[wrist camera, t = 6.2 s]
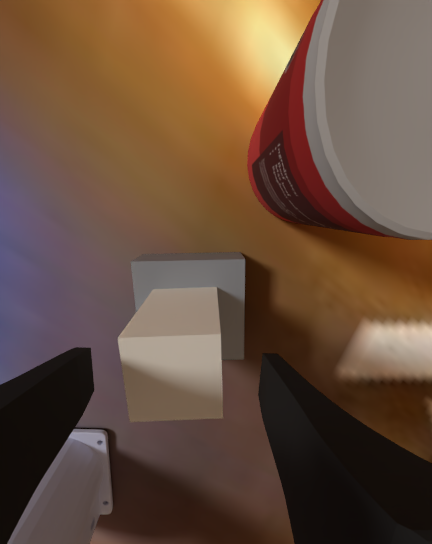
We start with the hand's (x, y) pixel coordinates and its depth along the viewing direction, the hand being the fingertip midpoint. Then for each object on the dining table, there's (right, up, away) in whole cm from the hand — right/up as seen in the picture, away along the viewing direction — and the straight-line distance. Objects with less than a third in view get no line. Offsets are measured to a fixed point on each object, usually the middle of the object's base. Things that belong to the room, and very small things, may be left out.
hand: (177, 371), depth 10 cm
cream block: (0, +1, +6) cm, 6 cm away
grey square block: (0, +2, +8) cm, 9 cm away
